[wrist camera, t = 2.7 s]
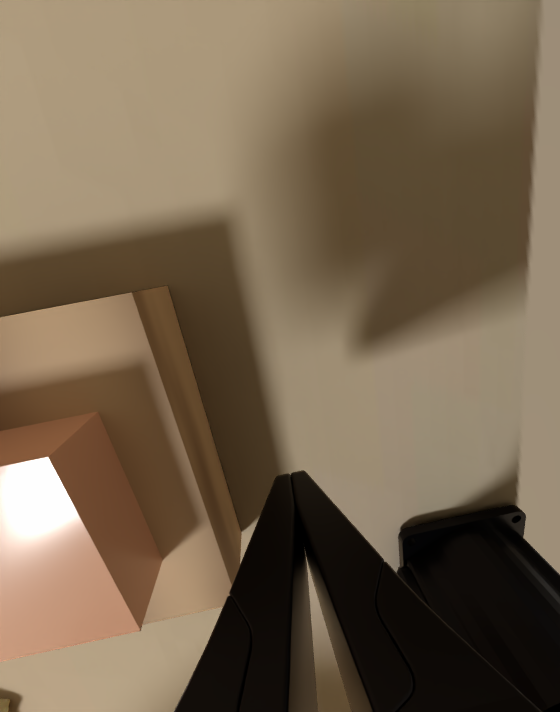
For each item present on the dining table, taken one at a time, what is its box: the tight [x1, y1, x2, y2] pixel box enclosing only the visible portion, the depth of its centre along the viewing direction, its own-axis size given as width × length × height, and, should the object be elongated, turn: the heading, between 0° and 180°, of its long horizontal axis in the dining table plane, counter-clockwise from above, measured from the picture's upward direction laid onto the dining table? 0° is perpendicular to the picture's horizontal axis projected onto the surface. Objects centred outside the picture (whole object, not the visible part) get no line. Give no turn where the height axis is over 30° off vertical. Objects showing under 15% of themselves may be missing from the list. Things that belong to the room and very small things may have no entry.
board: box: [0, 286, 241, 625], centre depth 10 cm, size 10×12×3 cm
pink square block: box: [0, 412, 163, 662], centre depth 8 cm, size 6×6×2 cm
